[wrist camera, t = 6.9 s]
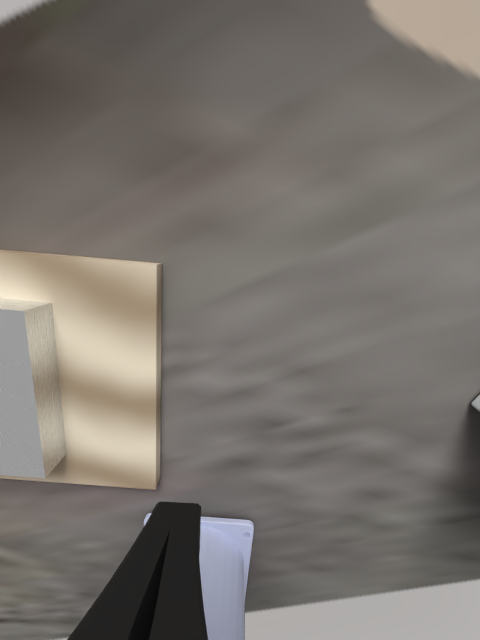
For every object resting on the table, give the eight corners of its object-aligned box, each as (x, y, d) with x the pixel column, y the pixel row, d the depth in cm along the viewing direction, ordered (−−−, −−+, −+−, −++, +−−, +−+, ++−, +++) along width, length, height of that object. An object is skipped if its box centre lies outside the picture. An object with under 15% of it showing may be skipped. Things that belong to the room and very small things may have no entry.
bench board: (160, 477, 20) (133, 553, 15) (-68, 460, 19) (-171, 532, 15) (161, 263, 16) (125, 271, 11) (-125, 238, 15) (-293, 236, 11)
